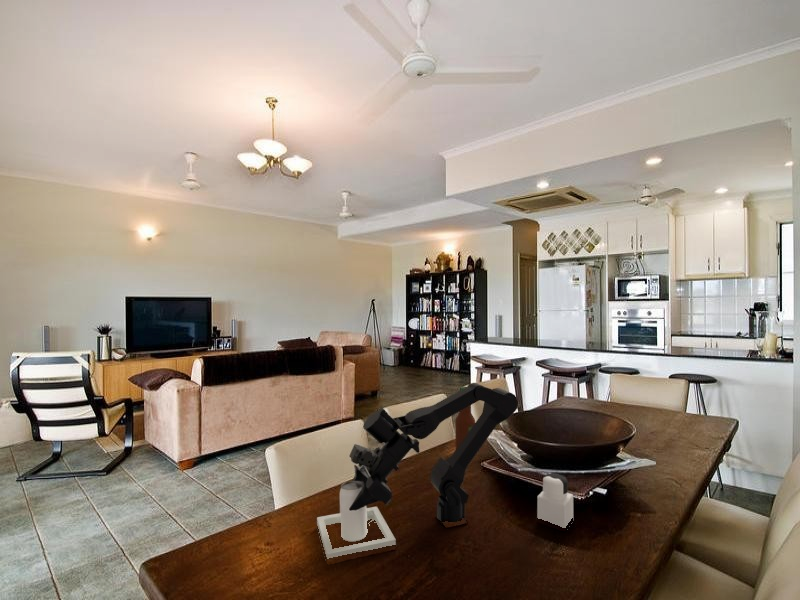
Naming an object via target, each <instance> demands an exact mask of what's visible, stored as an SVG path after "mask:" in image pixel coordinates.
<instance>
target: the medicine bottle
mask: <svg viewBox="0 0 800 600" xmlns="http://www.w3.org/2000/svg"><path fill="white" fill-rule="evenodd" d="M568 482H569V481H568V479H567V478H566V477H565V476H564V475H561V474H558V473H546V474H544V476H543V477H542V491H541V492H540V493H539V494H538V495H537V497H536V502H537V503H536V519H537V518H538V519H542V520H544V521H548V522H550V523H552V524H555V525H558V526H560V527H562V528H566V526H567V525H568V523H569V522H570V521H571V519H572V518H573V519H574V494H572V493H569V491H568V489H569V486H568V485H569V483H568Z"/></svg>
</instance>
